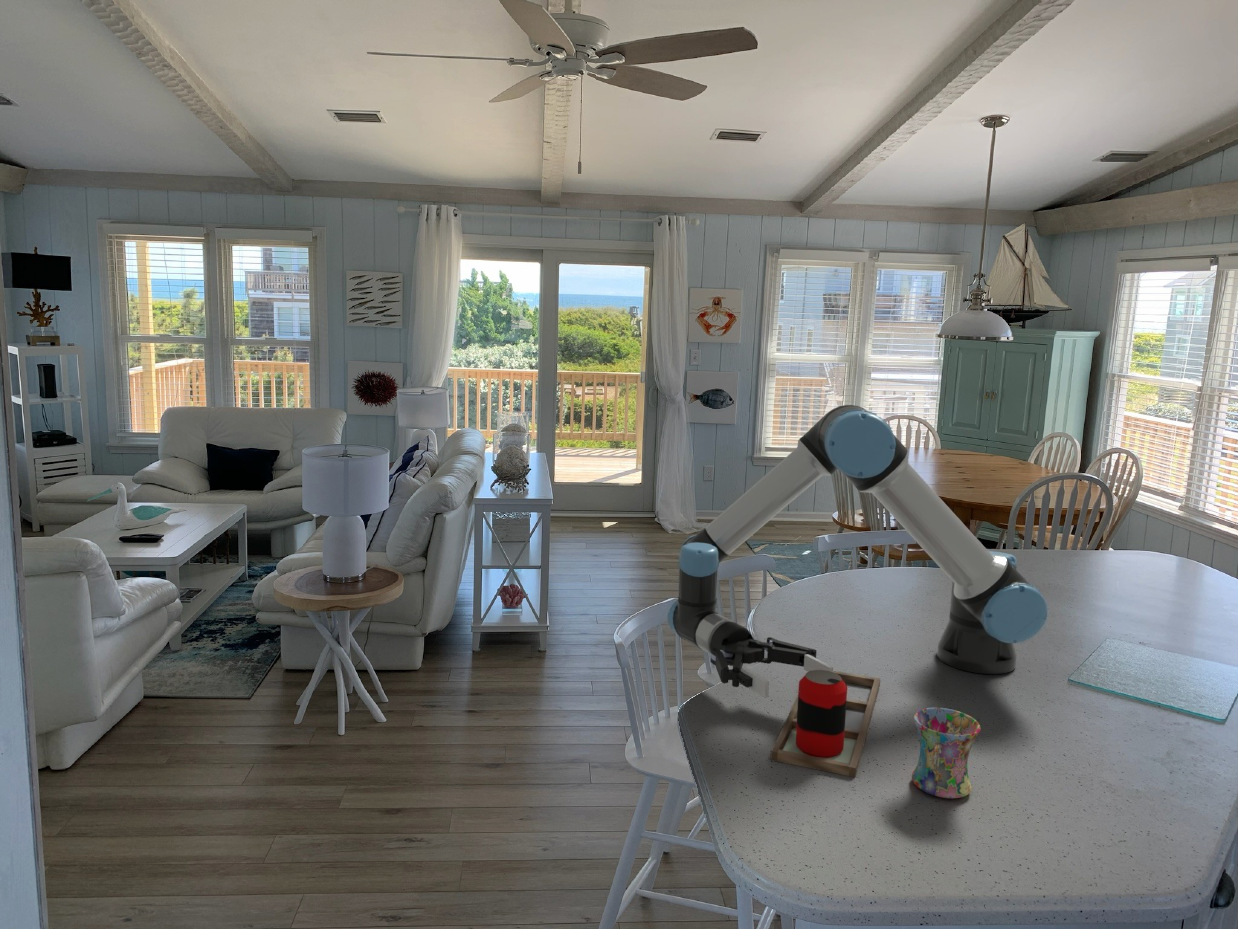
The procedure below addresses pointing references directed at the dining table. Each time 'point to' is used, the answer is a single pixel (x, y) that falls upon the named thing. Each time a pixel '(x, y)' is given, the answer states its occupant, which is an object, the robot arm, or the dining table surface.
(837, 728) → the soda can
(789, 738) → the frame
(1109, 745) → the dining table surface
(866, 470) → the robot arm
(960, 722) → the mug
